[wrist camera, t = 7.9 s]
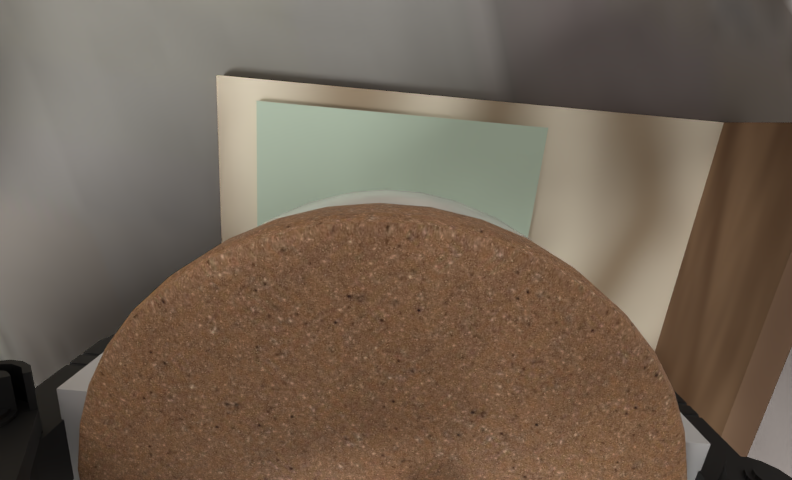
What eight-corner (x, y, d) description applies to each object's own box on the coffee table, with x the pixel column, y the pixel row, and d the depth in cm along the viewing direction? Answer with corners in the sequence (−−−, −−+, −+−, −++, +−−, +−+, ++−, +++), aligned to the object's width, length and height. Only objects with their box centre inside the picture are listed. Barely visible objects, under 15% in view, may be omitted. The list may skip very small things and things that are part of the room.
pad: (259, 355, 23) (258, 358, 23) (258, 101, 20) (256, 100, 19) (500, 375, 24) (501, 378, 23) (546, 127, 20) (548, 127, 20)
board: (230, 390, 25) (226, 397, 24) (221, 76, 20) (216, 75, 19) (649, 424, 25) (655, 431, 25) (744, 125, 20) (754, 125, 20)
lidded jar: (604, 314, 14) (938, 636, 5) (391, 480, 17) (378, 901, 8) (390, 87, 12) (357, -1, 3) (181, 310, 15) (-170, 612, 6)
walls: (230, 390, 25) (179, 471, 19) (221, 76, 20) (148, 57, 14) (649, 424, 25) (723, 514, 20) (744, 125, 20) (880, 126, 15)
